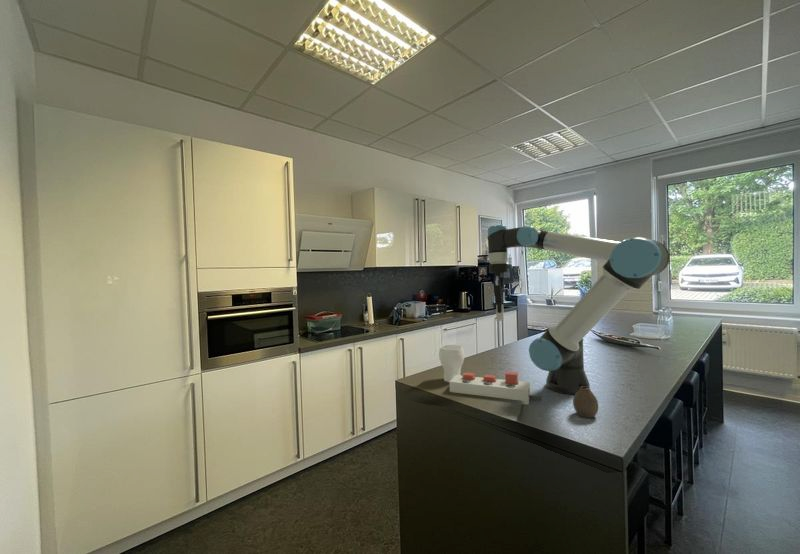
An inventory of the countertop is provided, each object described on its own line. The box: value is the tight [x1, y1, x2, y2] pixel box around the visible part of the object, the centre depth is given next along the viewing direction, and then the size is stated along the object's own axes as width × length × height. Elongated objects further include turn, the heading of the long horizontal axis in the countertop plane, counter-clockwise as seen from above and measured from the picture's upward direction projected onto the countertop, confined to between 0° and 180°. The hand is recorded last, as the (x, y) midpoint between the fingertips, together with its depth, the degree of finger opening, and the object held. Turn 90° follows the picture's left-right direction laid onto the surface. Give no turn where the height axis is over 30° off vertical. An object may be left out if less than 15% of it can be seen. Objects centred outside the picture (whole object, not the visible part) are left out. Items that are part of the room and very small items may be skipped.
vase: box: [572, 386, 599, 419], centre depth 101 cm, size 7×7×9 cm
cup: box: [438, 344, 465, 383], centre depth 137 cm, size 11×11×15 cm
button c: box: [462, 372, 476, 380], centre depth 126 cm, size 4×3×4 cm
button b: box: [483, 373, 497, 383], centre depth 123 cm, size 4×3×4 cm
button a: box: [504, 371, 519, 385], centre depth 119 cm, size 4×3×4 cm
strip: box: [448, 374, 542, 405], centre depth 120 cm, size 32×9×5 cm, turn 65°
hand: (500, 320), depth 132 cm, fingers closed
